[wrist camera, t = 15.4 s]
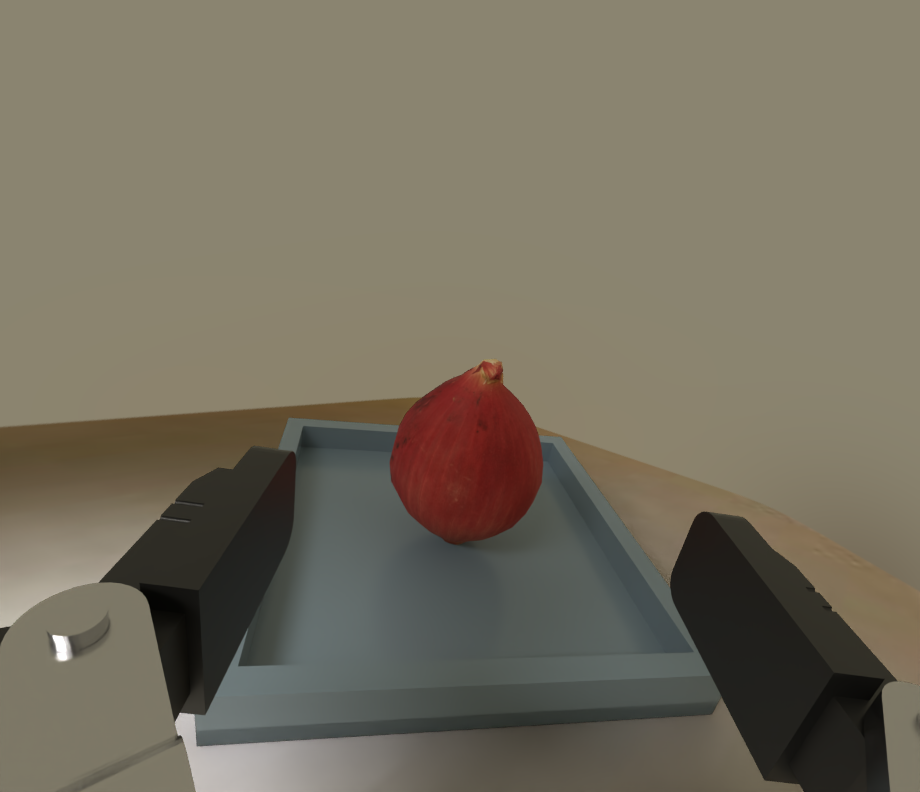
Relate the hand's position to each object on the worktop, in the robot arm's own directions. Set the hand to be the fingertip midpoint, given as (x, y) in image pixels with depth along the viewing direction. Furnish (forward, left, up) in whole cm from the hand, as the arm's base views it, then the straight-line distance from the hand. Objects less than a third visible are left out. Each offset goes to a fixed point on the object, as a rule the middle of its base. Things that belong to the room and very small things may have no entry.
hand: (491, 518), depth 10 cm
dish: (+1, +8, -8) cm, 12 cm away
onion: (+2, +8, -8) cm, 11 cm away
